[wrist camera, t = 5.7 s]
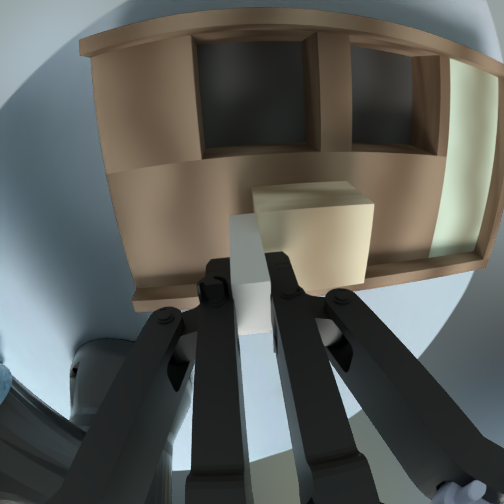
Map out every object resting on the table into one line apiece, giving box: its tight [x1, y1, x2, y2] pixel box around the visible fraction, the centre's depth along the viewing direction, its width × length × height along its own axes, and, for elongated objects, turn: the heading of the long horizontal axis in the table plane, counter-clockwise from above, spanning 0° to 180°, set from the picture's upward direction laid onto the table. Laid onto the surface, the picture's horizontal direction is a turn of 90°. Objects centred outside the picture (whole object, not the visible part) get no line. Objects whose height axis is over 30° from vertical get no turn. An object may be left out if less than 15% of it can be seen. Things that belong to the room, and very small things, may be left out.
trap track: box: [79, 7, 504, 312], centre depth 18 cm, size 30×18×6 cm, turn 94°
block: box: [251, 181, 374, 291], centre depth 17 cm, size 6×5×4 cm
